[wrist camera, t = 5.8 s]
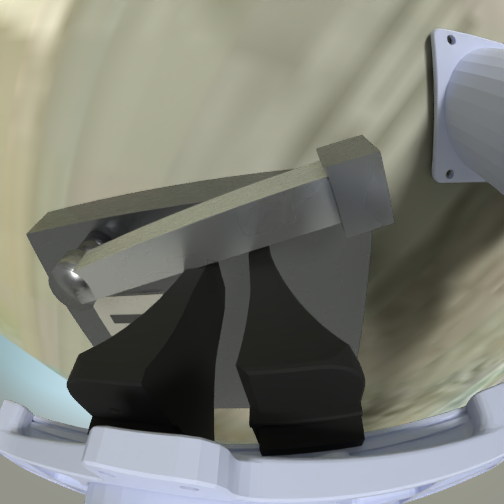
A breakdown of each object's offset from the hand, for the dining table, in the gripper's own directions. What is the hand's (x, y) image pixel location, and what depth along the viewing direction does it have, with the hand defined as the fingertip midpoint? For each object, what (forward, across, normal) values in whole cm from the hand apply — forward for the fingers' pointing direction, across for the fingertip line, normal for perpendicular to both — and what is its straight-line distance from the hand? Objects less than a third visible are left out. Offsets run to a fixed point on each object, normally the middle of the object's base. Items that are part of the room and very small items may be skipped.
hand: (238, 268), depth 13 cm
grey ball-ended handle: (0, +2, -2) cm, 3 cm away
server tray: (+4, +3, +7) cm, 9 cm away
